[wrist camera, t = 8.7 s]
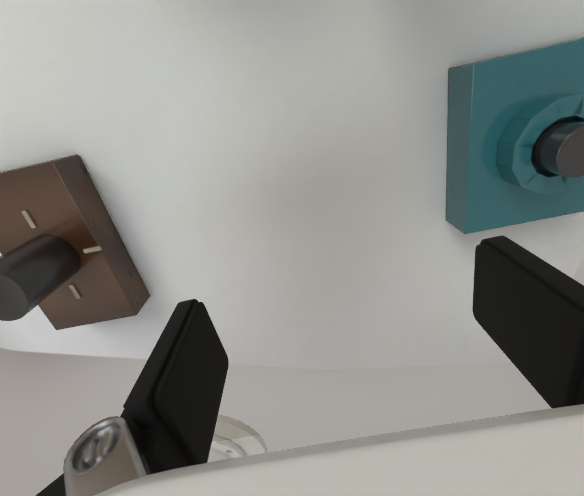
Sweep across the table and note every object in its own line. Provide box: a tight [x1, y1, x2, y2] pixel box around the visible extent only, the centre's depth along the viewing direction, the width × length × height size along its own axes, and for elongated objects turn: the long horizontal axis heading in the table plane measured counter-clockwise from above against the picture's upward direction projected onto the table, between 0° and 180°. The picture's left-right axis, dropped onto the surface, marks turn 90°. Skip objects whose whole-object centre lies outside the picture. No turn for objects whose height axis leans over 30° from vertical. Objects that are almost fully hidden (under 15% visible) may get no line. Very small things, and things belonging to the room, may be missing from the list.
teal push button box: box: [446, 37, 584, 234], centre depth 22 cm, size 12×10×5 cm
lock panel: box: [0, 155, 150, 330], centre depth 26 cm, size 14×8×3 cm, turn 12°
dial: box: [0, 235, 79, 321], centre depth 22 cm, size 4×4×6 cm
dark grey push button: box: [532, 121, 584, 178], centre depth 19 cm, size 3×3×2 cm
